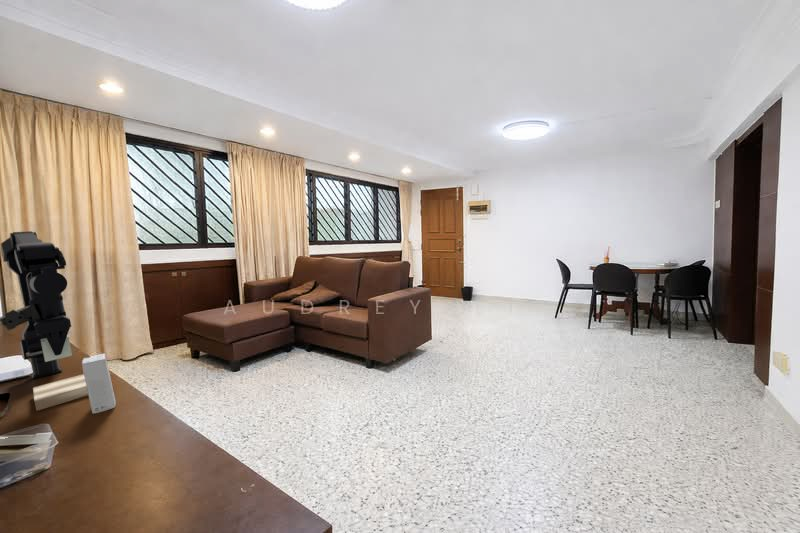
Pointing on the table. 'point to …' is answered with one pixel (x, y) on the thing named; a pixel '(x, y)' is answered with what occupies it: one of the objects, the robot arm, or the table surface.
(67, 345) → the sage cube
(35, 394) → the maple plinth
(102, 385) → the skincare box
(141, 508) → the table surface
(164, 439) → the table surface
